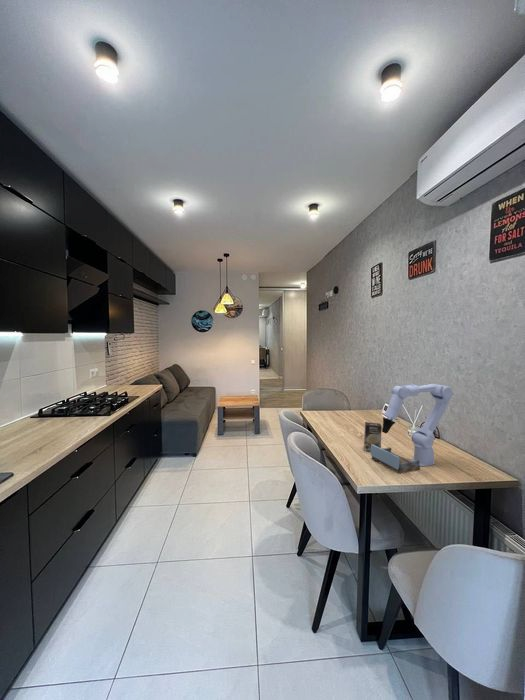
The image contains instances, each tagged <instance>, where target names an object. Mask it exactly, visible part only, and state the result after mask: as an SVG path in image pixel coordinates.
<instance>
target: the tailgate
mask: <svg viewBox="0 0 525 700" xmlns="http://www.w3.org/2000/svg"><path fill="white" fill-rule="evenodd" d="M392 453H393V452H392ZM392 453H390V452H388V451H386V450H384V449H383V448H382V447H381V448H379V447H377V446H375V445H373V444H371V452H370V456H371V457H372V456H373V457H375V458H377V459H379V460H381V461H382V462H384V463H386V464H388V465H390V466H392V467H394V468H396V469H399V459H400V457H401V456H400V457H398V456H399V455H398V456H396V455H397V454H396V455H394V454H395V453H394V454H392Z"/></svg>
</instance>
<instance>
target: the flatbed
mask: <svg viewBox="0 0 525 700" xmlns="http://www.w3.org/2000/svg"><path fill="white" fill-rule="evenodd" d="M382 449H384V450H386V451H388V452H390V453H392V454H394V455H396V456H398V457H400V459H399V469H396V468H394V467H392V466H390V465H388V464H386V463H384V462H382V461H381V460H379V459H377V458H375V457H373V456H371V458H372V459H373V460H374V461H376V462H378V461H379V463H380V462H381V463H380V464H382V465H384V466H386V467H388V468H389V467H390V469H391V470H393V471H395V472H396V473H399V474H405V473H410V472H415V471H420V469H421V466H420V465H419V461H418V460H416V461H410V460H408V459H407V458H405V457H403V456H400V455H398V454H396V453H395V452H392V447H385V448H382Z"/></svg>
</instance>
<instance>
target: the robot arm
mask: <svg viewBox="0 0 525 700" xmlns="http://www.w3.org/2000/svg"><path fill="white" fill-rule="evenodd" d="M421 393H430V395H431V396H432V398H433V399H434V401H435V404H434V406H433V407H432V409H431V411H430V413H429V415H428V416H427V418H426V420H425V421H424V423H423V425H422V427H419V428H417V429H416V430H415V431H414V432H413V433H412V434H411V441H412V442H413V445H414V446H413V448H414V449H413V459H410V460H409V461H416V460H418V461H419V466H420V467H427V466H433V465H435V464H436V463H435V459H434V458H435V451H434V448H433V446H434V442H435V439H436V436H435V435H434V431H435V429H436V428H437V426H438V424H439V422H440V421H441V419H442V417H443V416H444V414H445V412H446V410H447V408H448V406H449V404H450V401H451V399H452V397H453V396H454V392H453V390H452V387H451V386H450V385H442V384H438V383H429V384H424V385H416V384H414V383H410V384H409V385H404V384H402V385H401V386H399V385H395V386H394V387H393V388H392V389H391V398H390V401H389V403H388V406H387V408H386V411H385V413H384V412H382V415H384V416H386V418H385V417H382V431H381V433H384V434H388V433H389V431H391V430H390V429H391V428H392V427H393V425H395V424H396V421H397V419H398V416H399V413H400V411H401V407H402V405H403V402H404V400H405V399H407V398H408V397H414V396H418V395H420V394H421ZM394 420H395V421H394Z"/></svg>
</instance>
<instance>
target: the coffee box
mask: <svg viewBox="0 0 525 700" xmlns="http://www.w3.org/2000/svg"><path fill="white" fill-rule="evenodd" d="M382 428H383V425H382V424H381V423H378V422H369V421H365V422H364V433H363V435H364V439H363V450H364V452H369V453H371V444H373V445H375V446H377V447H379V448H381V449H382V447H381V446H382Z"/></svg>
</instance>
